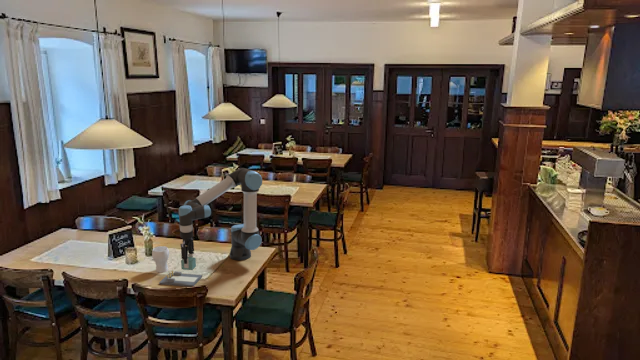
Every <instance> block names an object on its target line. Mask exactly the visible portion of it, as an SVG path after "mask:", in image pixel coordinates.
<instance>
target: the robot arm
mask: <svg viewBox="0 0 640 360" xmlns="http://www.w3.org/2000/svg"><path fill="white" fill-rule="evenodd" d="M262 185H263V178H262V175H261V174H260V173H259V172H257V171H255V170H251V169H249V168H245V167H240V168H239V169H236V170H233V171H232V172H230V173H229V174H227V175H226V176H225V178H224V179H222V180H221V181H220V182H218V183H216V184H215V185H213V186H212V187H211V188H208V190H206V191H204V192H203V193H201V194H199V195H198V196H197V197H195V198H193V199H192V200H191V199H189V200H186V201H185V202H184V204H183V205H181V206H180V207H178V218H179V219H178V220H179V236H180V238H181V239H182V243H180V254H181V255H180V256H181V260H182V259H184V268H189V261H188V257H193V256H194V254H195V244H194V229H193V221H195V220H196V221H197V220H201V219H206V218H209V217H210V216H211V215H212V209H211V208H210V205H209V204H210V203H211V202H213V201H214V200H216V199H217V198H219V197H220V196H222V195H223V194H225V193H227V192H228V191H229V190H231V189H232V188H233V189H234V188H237V187H238V186H241V187H240V189H241V192H242V193H243V223H241V224H239V223H238V224H234V225H232V226H231V227H230V239H231V240H230V241H231V248H230V250H229V258H230V259H231V260H234V261H244V260H247V259H250V258H251V257H252V251H255V250H256V249H258V248H259V247H260V246H261V244H262V236H261V235H260V234H259V228H258V227H257V213H258V212H257V207H258V205H257V199H258V198H257V196H258V194H257V193H259V191H260V188H261V187H262Z"/></svg>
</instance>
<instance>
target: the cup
mask: <svg viewBox="0 0 640 360" xmlns="http://www.w3.org/2000/svg"><path fill="white" fill-rule="evenodd" d="M151 257H152V260H153V261H154V262H155V272H156V273H160V274H161V273H165V272H167V271H168V270H169V267H168V260H169V257H170V251H169V248H168V246H166V245H165V246H164V245H162V246H161V245H160V246H159V245H158V246H156V247H154V248H153V249H152V252H151Z"/></svg>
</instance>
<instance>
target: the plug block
mask: <svg viewBox="0 0 640 360" xmlns="http://www.w3.org/2000/svg"><path fill="white" fill-rule="evenodd" d="M188 261H189V268H184V259H182V258H181V260H180V263H181V264H180V265H181V266H180V267H181V270H184V271H185V270H186V271H193V270H194V269H195V268H196V267H197V259H196V257H188Z"/></svg>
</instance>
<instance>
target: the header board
mask: <svg viewBox="0 0 640 360" xmlns="http://www.w3.org/2000/svg"><path fill="white" fill-rule="evenodd" d="M202 277H203V274H194V273H193V274H192V273H182V271H174V270H173V269H172V270H171V272H169V273H167V274H166V275H165V277H163V278H162V279H161V280H160V281H159V282H158V284H159V285H162V286H163V285H164V286H177V287H178V286H179V287H188V288H193V287H194V286H195V285H197V283H198V282H199V281H200V280H201V279H202ZM192 286H193V287H192Z"/></svg>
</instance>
